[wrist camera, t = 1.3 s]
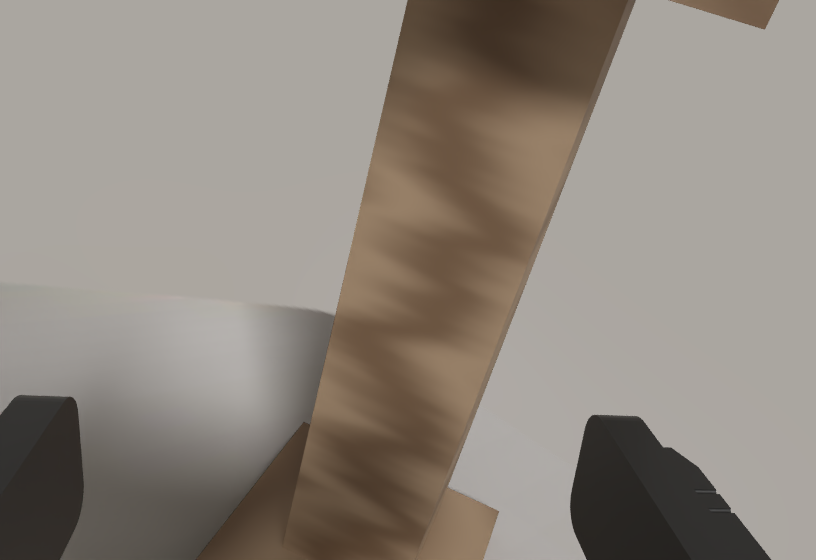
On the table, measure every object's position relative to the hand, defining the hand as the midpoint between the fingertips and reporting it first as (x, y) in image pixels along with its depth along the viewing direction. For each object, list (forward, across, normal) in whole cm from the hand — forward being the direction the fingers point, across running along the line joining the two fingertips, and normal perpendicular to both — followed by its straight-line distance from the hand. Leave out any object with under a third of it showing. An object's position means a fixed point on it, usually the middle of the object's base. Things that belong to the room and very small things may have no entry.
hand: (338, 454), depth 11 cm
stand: (+19, -2, +19) cm, 27 cm away
